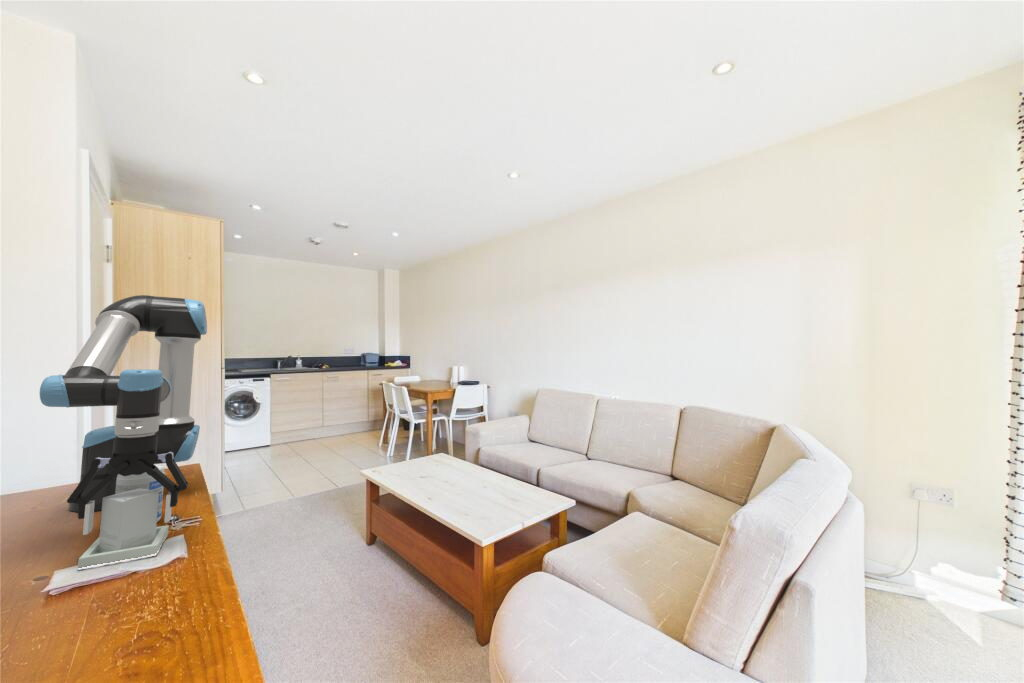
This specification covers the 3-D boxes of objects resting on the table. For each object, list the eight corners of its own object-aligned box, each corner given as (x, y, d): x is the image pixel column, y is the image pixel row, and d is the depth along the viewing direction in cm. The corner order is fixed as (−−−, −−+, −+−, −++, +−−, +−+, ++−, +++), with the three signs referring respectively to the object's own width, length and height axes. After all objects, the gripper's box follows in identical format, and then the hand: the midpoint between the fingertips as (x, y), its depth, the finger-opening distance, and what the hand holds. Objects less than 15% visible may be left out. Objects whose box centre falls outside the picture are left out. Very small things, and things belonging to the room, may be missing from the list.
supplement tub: (156, 527, 102) (161, 471, 103) (106, 535, 97) (111, 476, 98) (164, 514, 110) (168, 462, 111) (118, 521, 105) (122, 466, 106)
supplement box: (156, 545, 92) (160, 491, 93) (116, 559, 85) (120, 501, 86) (137, 539, 94) (141, 487, 95) (96, 553, 87) (101, 496, 88)
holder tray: (99, 546, 91) (100, 535, 92) (168, 535, 98) (168, 525, 98) (77, 571, 81) (78, 558, 81) (156, 556, 88) (157, 545, 88)
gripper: (51, 442, 81) (41, 545, 80) (201, 433, 95) (195, 521, 93) (66, 435, 88) (58, 531, 86) (205, 428, 101) (199, 510, 100)
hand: (129, 526), depth 90 cm, fingers open, 13 cm apart
